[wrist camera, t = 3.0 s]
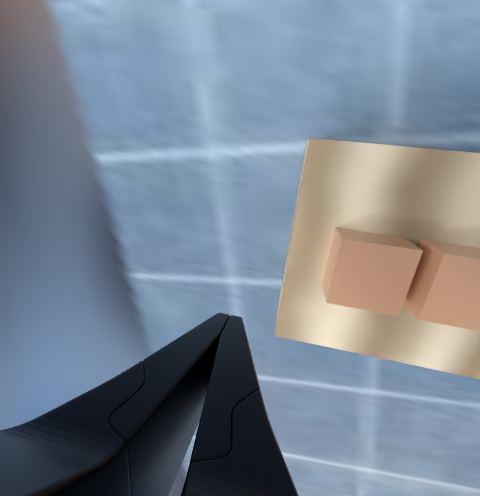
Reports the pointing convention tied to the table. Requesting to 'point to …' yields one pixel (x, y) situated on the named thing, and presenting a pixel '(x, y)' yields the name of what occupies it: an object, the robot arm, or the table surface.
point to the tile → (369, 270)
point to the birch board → (381, 222)
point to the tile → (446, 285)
